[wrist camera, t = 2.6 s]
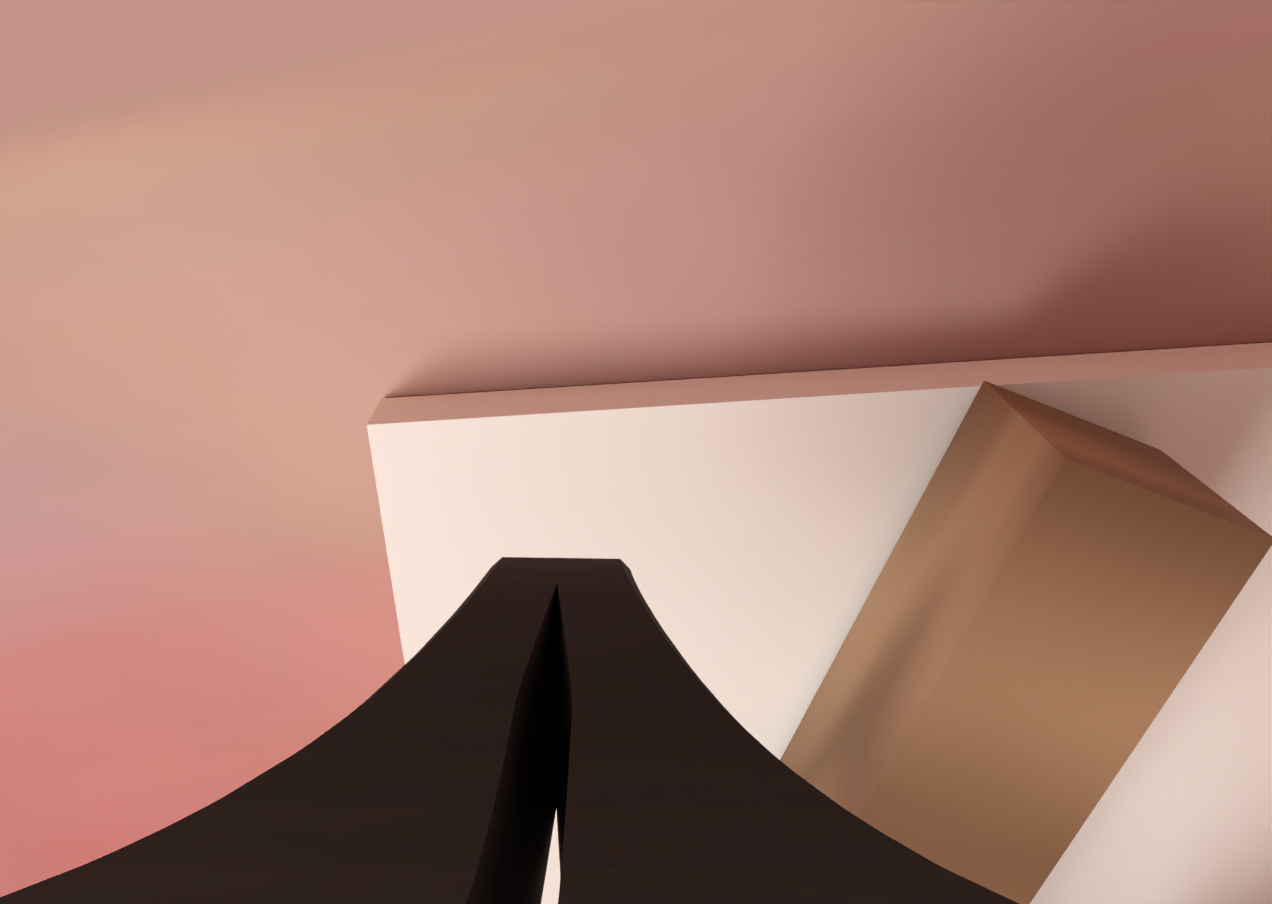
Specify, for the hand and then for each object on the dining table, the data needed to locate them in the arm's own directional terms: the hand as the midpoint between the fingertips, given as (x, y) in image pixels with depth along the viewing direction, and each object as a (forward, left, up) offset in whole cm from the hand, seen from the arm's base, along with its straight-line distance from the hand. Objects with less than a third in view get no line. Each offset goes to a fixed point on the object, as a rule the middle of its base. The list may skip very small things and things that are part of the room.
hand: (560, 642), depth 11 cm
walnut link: (-7, -4, -5) cm, 9 cm away
